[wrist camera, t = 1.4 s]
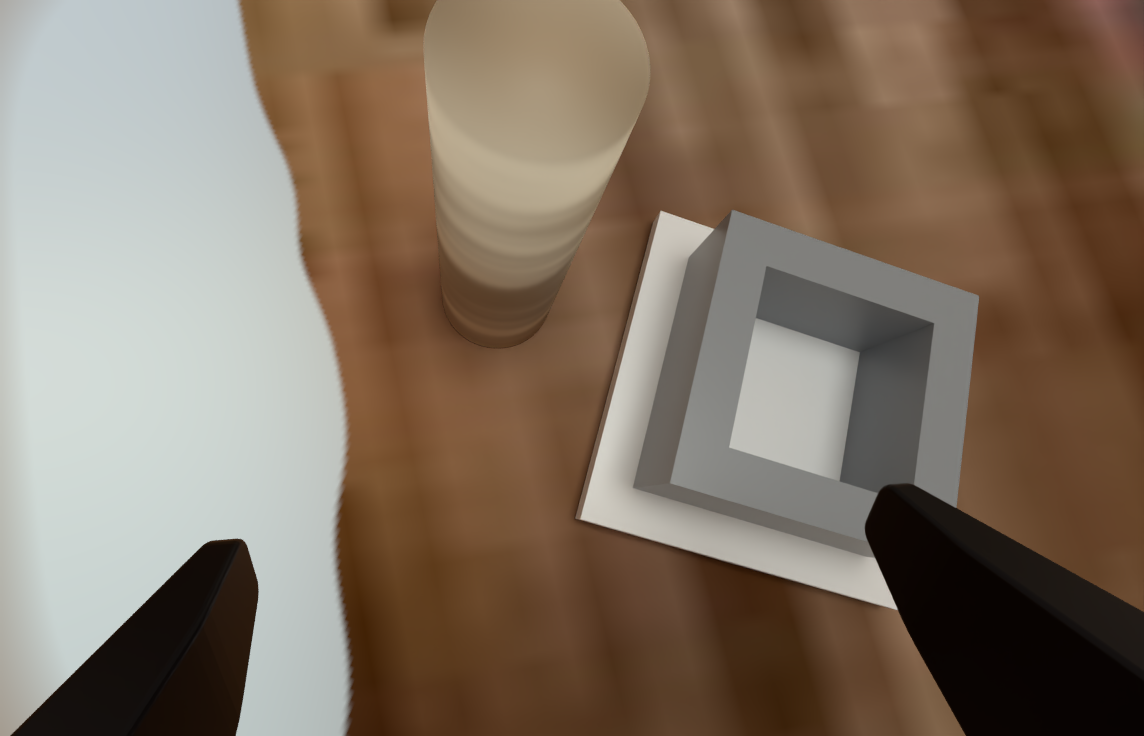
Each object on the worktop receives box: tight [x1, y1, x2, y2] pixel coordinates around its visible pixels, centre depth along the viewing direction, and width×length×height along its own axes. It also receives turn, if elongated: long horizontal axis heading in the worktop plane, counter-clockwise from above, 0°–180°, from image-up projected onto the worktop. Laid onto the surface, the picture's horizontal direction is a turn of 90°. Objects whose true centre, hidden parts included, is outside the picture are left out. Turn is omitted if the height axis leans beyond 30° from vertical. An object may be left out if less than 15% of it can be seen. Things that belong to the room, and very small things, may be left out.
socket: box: [575, 210, 979, 610], centre depth 22 cm, size 12×12×5 cm
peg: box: [424, 0, 650, 348], centre depth 17 cm, size 4×4×13 cm
